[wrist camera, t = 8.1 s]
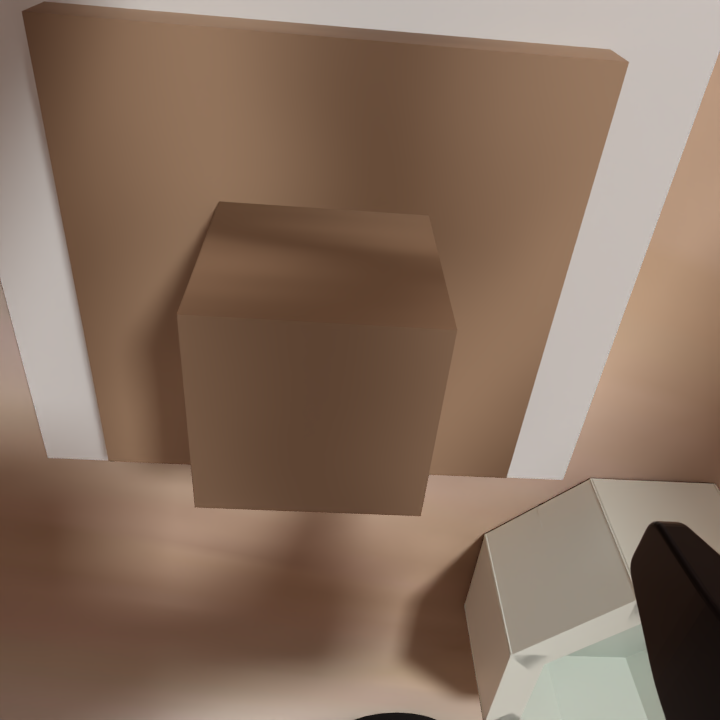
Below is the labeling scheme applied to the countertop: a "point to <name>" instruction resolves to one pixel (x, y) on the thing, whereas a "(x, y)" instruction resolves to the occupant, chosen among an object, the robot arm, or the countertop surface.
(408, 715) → the cup
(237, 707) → the countertop surface
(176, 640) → the countertop surface
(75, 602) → the countertop surface
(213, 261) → the lid
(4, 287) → the mat
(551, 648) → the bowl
